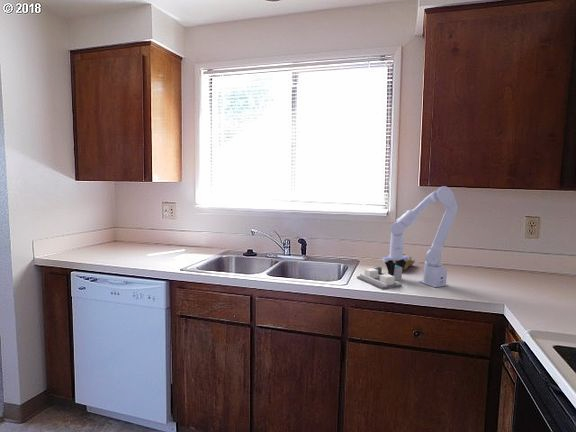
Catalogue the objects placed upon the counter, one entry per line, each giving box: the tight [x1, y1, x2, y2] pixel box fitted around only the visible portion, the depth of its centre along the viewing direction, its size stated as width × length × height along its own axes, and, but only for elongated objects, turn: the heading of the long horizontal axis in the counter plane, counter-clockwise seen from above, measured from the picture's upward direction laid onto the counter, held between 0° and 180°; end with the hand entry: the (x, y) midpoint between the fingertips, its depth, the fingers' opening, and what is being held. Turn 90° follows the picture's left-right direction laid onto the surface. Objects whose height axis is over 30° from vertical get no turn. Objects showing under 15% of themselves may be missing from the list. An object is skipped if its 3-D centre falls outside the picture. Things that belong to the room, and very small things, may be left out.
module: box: [387, 265, 403, 282], centre depth 173 cm, size 5×4×6 cm
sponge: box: [393, 253, 416, 271], centre depth 194 cm, size 13×8×20 cm
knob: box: [373, 266, 383, 275], centre depth 183 cm, size 4×4×3 cm
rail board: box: [356, 267, 403, 290], centre depth 167 cm, size 18×11×4 cm, turn 25°
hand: (394, 275), depth 174 cm, fingers closed on module, 4 cm apart
